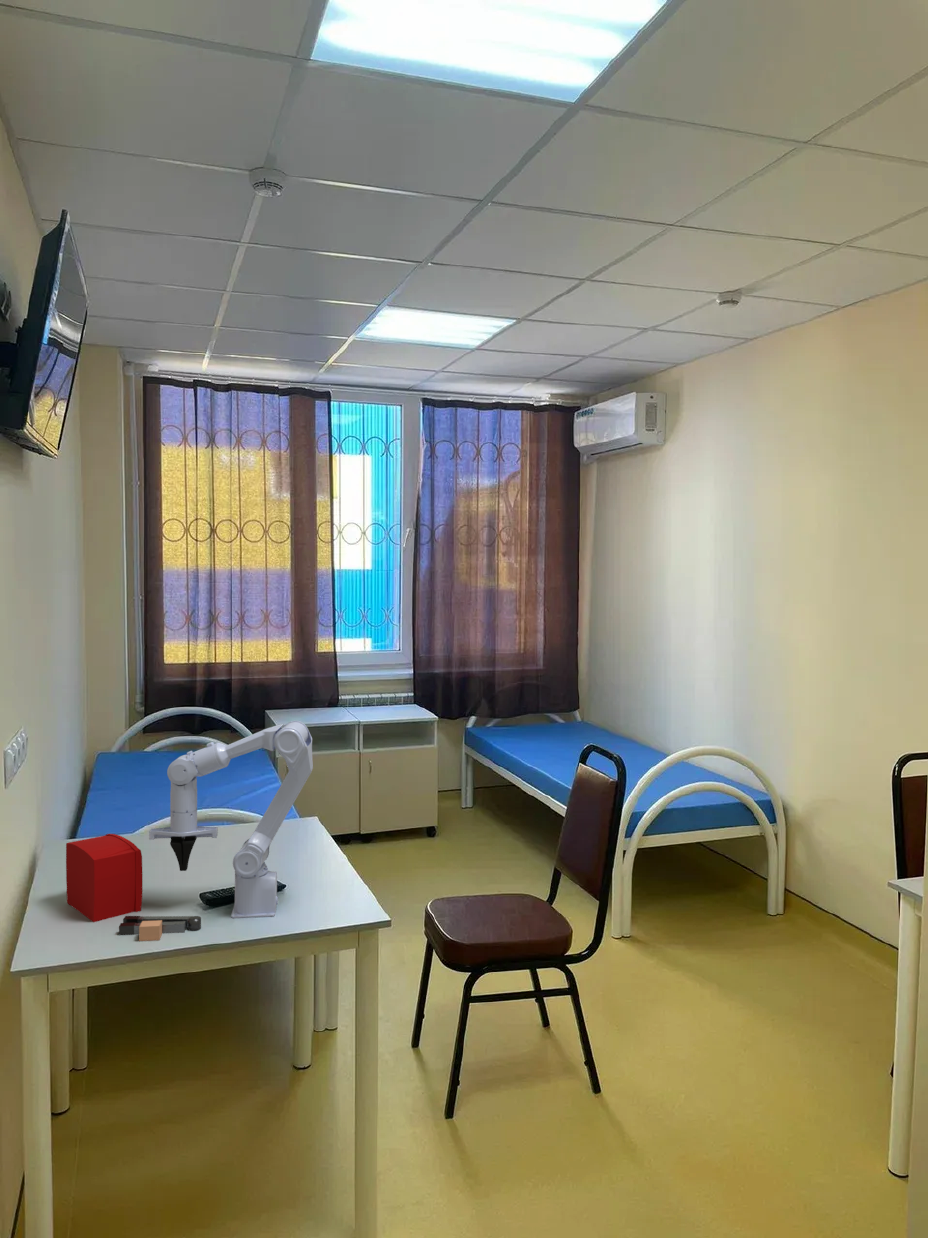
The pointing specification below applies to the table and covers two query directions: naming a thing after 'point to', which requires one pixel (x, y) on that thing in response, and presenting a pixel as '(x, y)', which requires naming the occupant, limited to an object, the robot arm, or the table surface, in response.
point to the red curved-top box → (104, 876)
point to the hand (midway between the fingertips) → (183, 869)
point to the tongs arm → (168, 920)
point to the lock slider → (150, 930)
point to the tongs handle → (166, 928)
